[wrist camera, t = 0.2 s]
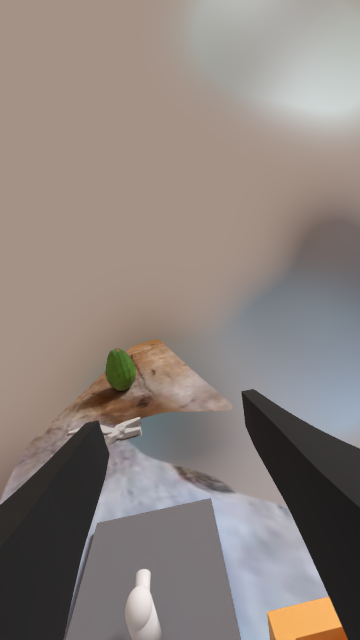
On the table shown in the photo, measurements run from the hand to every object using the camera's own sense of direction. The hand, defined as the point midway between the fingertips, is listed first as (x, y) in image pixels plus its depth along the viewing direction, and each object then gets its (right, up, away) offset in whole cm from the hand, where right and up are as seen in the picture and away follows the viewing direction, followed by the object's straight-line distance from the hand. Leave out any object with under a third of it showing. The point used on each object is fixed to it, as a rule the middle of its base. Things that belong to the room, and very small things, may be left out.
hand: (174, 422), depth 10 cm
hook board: (-2, -21, +6) cm, 22 cm away
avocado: (-15, -14, +47) cm, 51 cm away
